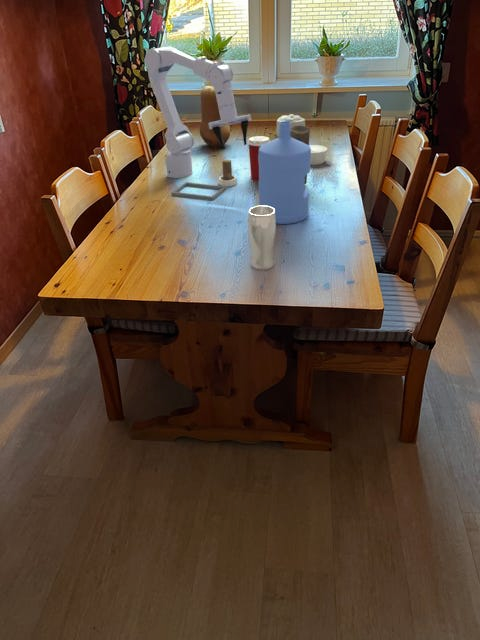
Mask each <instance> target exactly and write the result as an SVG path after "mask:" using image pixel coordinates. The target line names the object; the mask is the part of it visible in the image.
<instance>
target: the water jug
mask: <svg viewBox="0 0 480 640" xmlns="http://www.w3.org/2000/svg"><path fill="white" fill-rule="evenodd" d="M290 124H291V122H288V121H283V122H280V136H279V137H277V138H275V139H273V140H270V142H268V143H266V144H264V145H262V146H261V147H260V148H259V155H258V163H259V181H258V193H259V194H258V196H259V197H258V201H259V202H258V203H259V205H258V206H270V207H272V208H274V209H275V217H276V225H290V224H295V223H299V222H301V221H304V220H305V219H306V218H307V217H308V215H309V209H310V206H309V204H310V203H309V201H310V199H309V198H310V193H309V191H308V189H306V187H305V185H306V184H305V176H306V175H307V176H308V174H309V173H310V172H311V165H310V163H311V148H310V146H309V145H310V144H309V145H307V144H305V143H303V142H301V141H298V140H296V139H294V138H292V137H291V136H290V131H291V128H290Z"/></svg>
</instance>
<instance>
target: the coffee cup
mask: <svg viewBox="0 0 480 640" xmlns="http://www.w3.org/2000/svg"><path fill="white" fill-rule="evenodd" d="M270 141H271V140H270V138H269V137H268V136H264V135H261V136H260V135H257V136H252V137H249V139H248V141H247V145H248V152H249V154H248V155H249V164H250V165H249V167H250V177H251V180H252V181H258V182H259V163H258V155H259V148H260V147H261V146H262V145H264V144H266V143H268V142H270Z"/></svg>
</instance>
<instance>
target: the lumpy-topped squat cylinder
mask: <svg viewBox="0 0 480 640" xmlns="http://www.w3.org/2000/svg"><path fill="white" fill-rule="evenodd" d="M283 121H288V122H291V124H290V128H291V127H293V126H300V125H301V126H305V127H306V119H305V118H304V117H301V116H300V115H295V114H292V113H290V114H289V115H286V114H285V115H281V116H280V117H278V118H277V120H276V137H277V138H278V137H279V136H280V122H283Z"/></svg>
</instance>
